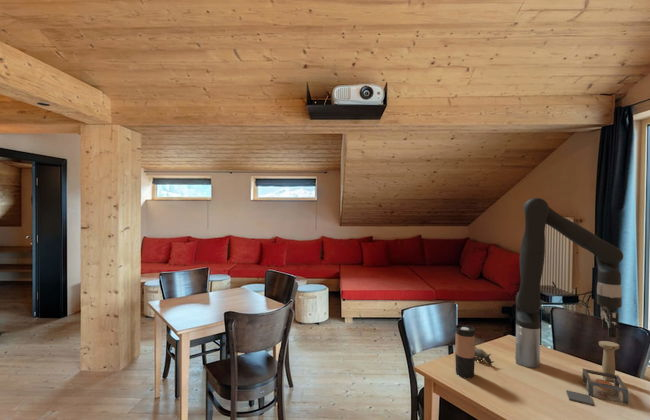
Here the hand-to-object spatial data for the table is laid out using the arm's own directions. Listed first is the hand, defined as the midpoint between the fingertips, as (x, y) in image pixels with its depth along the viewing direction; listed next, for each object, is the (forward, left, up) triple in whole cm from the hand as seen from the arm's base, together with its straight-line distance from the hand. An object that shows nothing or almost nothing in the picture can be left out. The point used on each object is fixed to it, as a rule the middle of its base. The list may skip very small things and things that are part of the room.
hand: (608, 333), depth 129 cm
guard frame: (-4, -12, -19) cm, 23 cm away
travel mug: (-52, -24, -20) cm, 60 cm away
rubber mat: (-13, -21, -19) cm, 32 cm away
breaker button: (-4, -12, -17) cm, 21 cm away
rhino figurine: (-47, -9, -20) cm, 52 cm away
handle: (0, 0, -20) cm, 20 cm away
